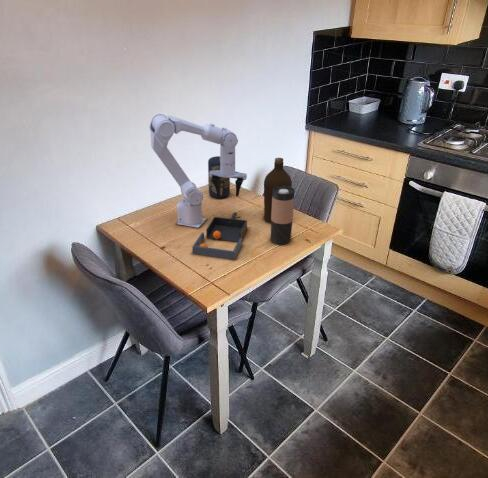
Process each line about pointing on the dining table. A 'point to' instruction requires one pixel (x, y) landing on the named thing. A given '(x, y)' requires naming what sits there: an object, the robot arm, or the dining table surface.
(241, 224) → the scoop pan
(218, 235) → the ball
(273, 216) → the travel mug
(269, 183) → the olive oil
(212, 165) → the canister
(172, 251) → the dining table surface
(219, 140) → the robot arm
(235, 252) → the frame
